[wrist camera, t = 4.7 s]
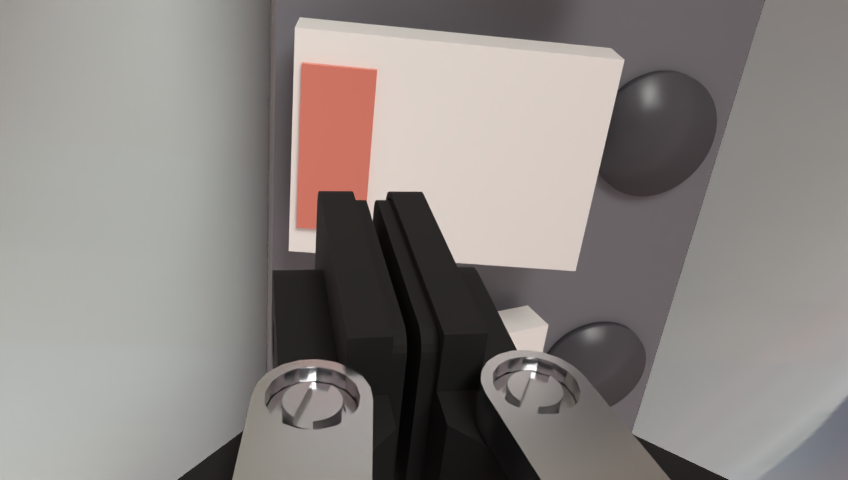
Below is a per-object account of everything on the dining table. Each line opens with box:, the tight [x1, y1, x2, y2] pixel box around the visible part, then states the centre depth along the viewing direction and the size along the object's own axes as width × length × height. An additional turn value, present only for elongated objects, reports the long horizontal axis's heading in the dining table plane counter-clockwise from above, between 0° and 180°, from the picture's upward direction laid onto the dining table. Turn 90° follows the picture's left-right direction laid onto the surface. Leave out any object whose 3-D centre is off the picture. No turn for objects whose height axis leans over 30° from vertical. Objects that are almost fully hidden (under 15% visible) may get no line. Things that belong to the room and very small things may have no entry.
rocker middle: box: [289, 17, 624, 271], centre depth 20 cm, size 8×6×2 cm
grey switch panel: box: [266, 0, 765, 433], centre depth 24 cm, size 14×36×4 cm, turn 174°
